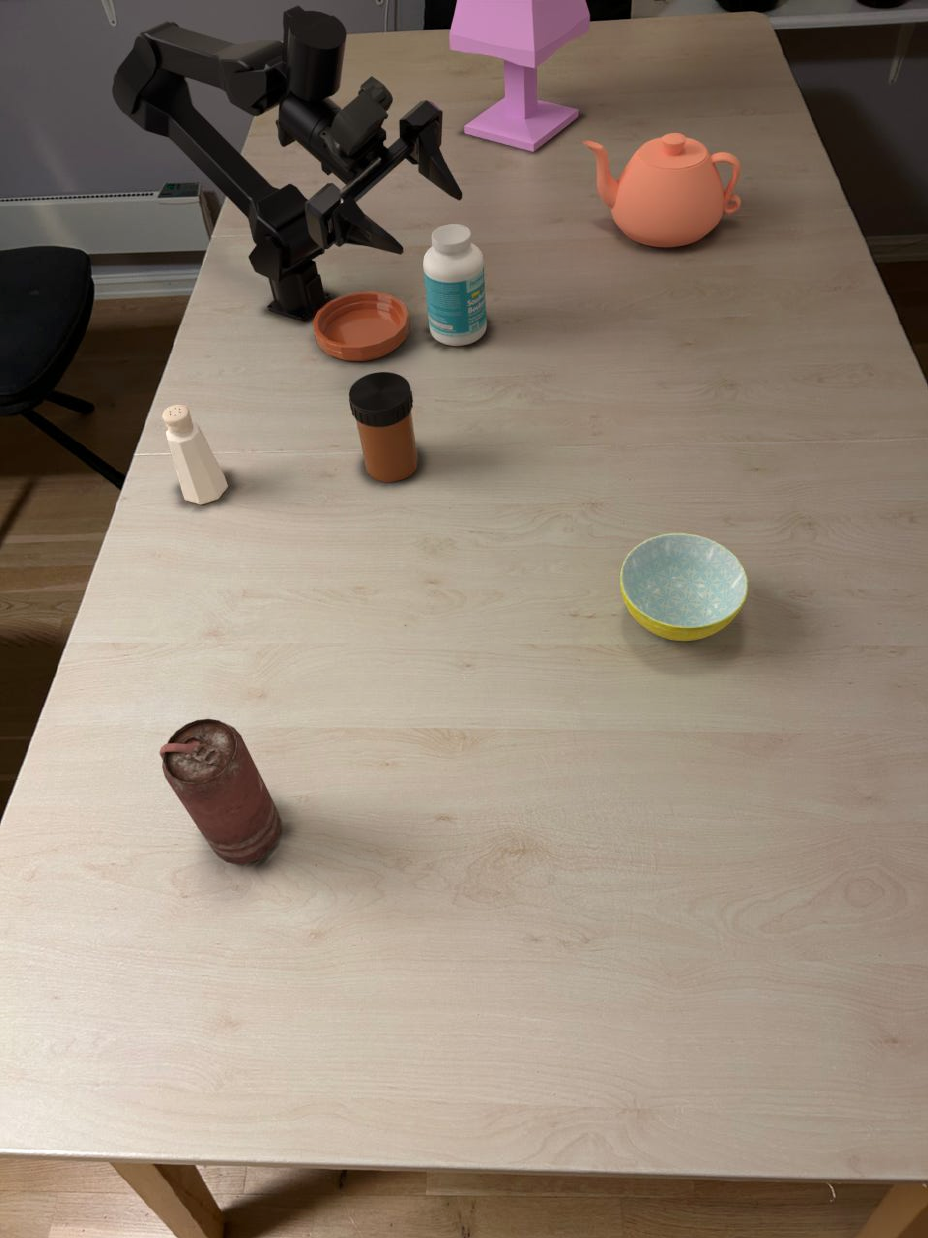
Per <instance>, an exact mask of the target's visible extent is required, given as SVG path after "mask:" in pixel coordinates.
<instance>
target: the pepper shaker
mask: <svg viewBox="0 0 928 1238" xmlns="http://www.w3.org/2000/svg"><path fill="white" fill-rule="evenodd" d="M161 417H162V420H163V421H164V422H165V425H166V428H167V430H166V431H165V434H166V439H167V443H168V447H169V450H170V454H171V457H172V460H173V464H174V468H175V471H176V475H177V479H178V482H179V486H180V489H181V493H182V496H183V499H184V500H185V501H186V502H189V503H193V504H197V505H204V504H205V505H206V504H208V503H212V502H214V501H217V500H219V499H220V498H221V497H222V495H223V494H224V493H225V492H226V490H227V489H228V488H229V484H228V482H227V479H226V477H225V474H224V472H223V470H222V468H221V466H220V464H219V462H218V460H217V458H216V456H215V454H214V453H213V450H212V448H211V446H210V445H209V442H208V441H207V439H206V437H205V435H204V433H203V431H202V429H201V427H200V425H199V424H198V423H197V422H195V421H193V419H192V415H191V413H190V408H188V406H186V405H183V404H173V405H171V406H169V407H167V408H166V409H165V410H163V413H162V416H161Z"/></svg>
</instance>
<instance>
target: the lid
mask: <svg viewBox="0 0 928 1238" xmlns="http://www.w3.org/2000/svg"><path fill="white" fill-rule="evenodd" d="M411 389H412V388H411V385H410V383H409V381H408V380H407V379H406V378H405V377H404V376H402V375H400V374H398V373H395V372H389V371H379V372H373V373H369V374H366V375H364V376H361V377H360V378H359V379H357V380H356V381H355V382H354V383H353V384H352V385H351V386H350V388H349V390H348V403H349V407H350V411H351V415H352V417H354V419H355V421H356V420H357V421H359V422H360V423H362V424H364V425H367V426H372V427H385V426H390V425H393V424H396V423H398V422H400V421H402V420H403V419H404V418H406V417H407V416H408V415H409V413H410V412H411V413H412V410H413V408H414V405H413V403H414V398H413V391H412V390H411ZM357 421H356V422H357Z"/></svg>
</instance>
